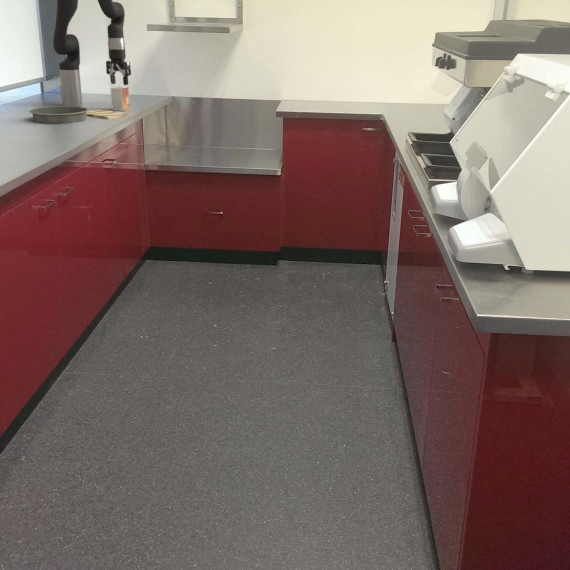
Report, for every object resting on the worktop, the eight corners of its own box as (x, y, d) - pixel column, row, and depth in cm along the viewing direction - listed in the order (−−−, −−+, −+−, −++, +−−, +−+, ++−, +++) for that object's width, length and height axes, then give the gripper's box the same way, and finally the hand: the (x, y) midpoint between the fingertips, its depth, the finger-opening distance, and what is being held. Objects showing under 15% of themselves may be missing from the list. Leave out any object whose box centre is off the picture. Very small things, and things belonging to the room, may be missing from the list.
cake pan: (29, 116, 301) (28, 106, 300) (86, 115, 310) (85, 105, 308) (31, 125, 280) (30, 114, 279) (92, 123, 288) (91, 112, 287)
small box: (123, 111, 322) (121, 88, 318) (112, 110, 323) (110, 88, 319) (130, 109, 329) (128, 86, 325) (119, 108, 330) (117, 86, 326)
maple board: (78, 114, 309) (78, 112, 308) (100, 111, 319) (100, 109, 318) (108, 119, 298) (108, 117, 298) (130, 116, 308) (130, 113, 308)
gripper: (100, 48, 316) (103, 84, 322) (121, 49, 309) (124, 85, 315) (112, 47, 322) (115, 83, 328) (133, 48, 314) (136, 84, 320)
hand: (119, 84), depth 321 cm, fingers open, 8 cm apart
